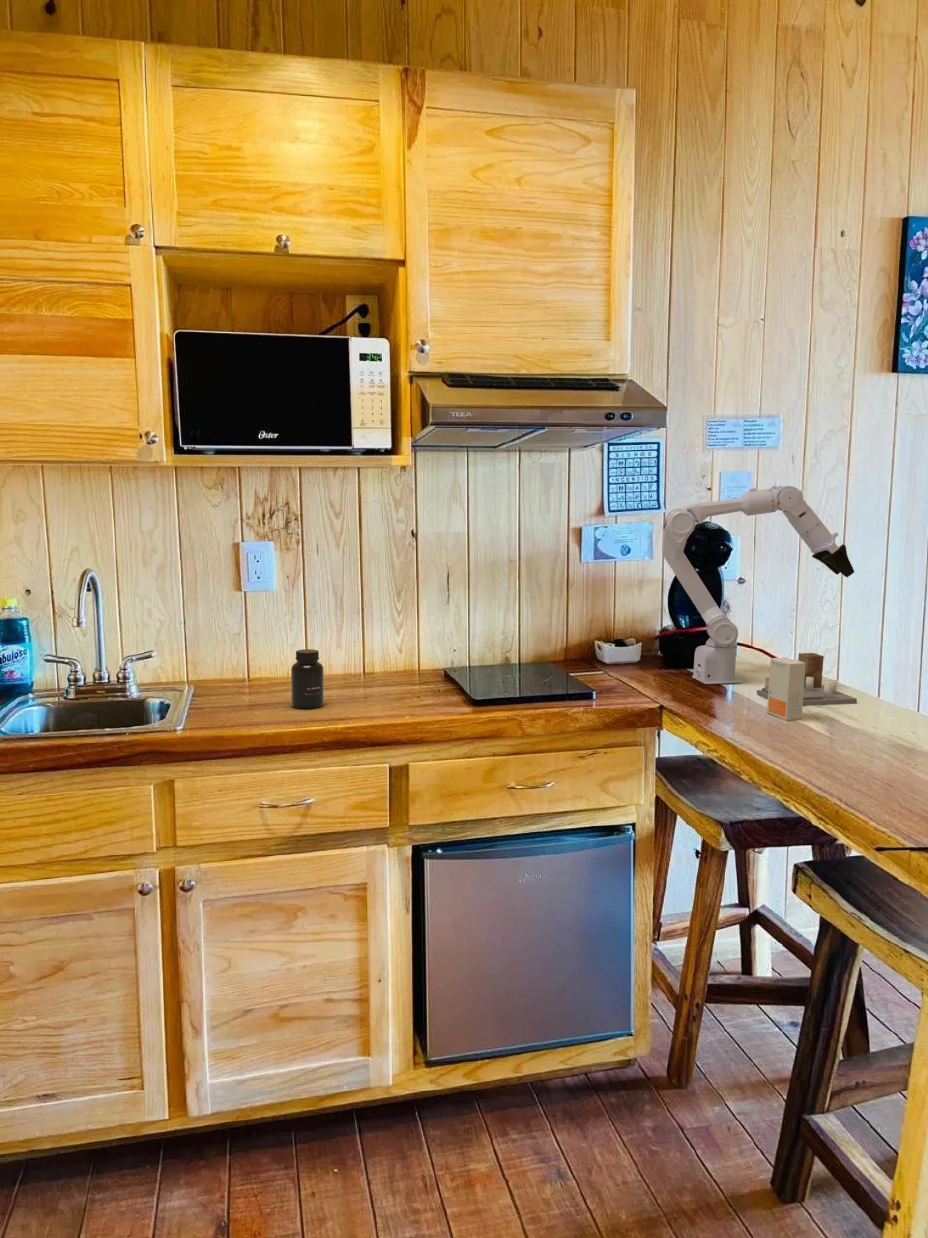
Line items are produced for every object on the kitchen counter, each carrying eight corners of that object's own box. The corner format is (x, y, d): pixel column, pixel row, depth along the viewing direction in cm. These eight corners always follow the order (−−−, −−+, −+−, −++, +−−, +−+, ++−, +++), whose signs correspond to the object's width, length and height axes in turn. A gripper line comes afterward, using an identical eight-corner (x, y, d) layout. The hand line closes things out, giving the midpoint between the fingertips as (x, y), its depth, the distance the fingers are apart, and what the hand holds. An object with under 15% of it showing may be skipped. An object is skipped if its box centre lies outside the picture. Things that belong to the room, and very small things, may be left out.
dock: (782, 706, 189) (783, 688, 188) (756, 694, 200) (757, 677, 199) (856, 703, 192) (857, 685, 192) (827, 691, 203) (828, 674, 202)
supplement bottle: (313, 711, 182) (312, 655, 180) (285, 707, 185) (284, 652, 183) (329, 703, 189) (328, 649, 187) (302, 700, 191) (301, 647, 189)
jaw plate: (783, 698, 190) (784, 685, 190) (764, 690, 198) (765, 677, 198) (788, 698, 191) (789, 685, 190) (769, 690, 198) (770, 677, 198)
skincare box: (765, 713, 183) (769, 658, 181) (781, 711, 185) (785, 656, 183) (786, 721, 177) (790, 663, 176) (802, 719, 179) (806, 662, 177)
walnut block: (805, 689, 205) (808, 656, 203) (796, 685, 208) (798, 653, 207) (821, 689, 205) (823, 656, 204) (811, 685, 209) (813, 652, 208)
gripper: (833, 518, 197) (870, 565, 197) (816, 517, 211) (850, 560, 212) (807, 537, 198) (843, 584, 199) (791, 535, 213) (825, 578, 213)
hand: (845, 573), depth 205 cm, fingers open, 7 cm apart
